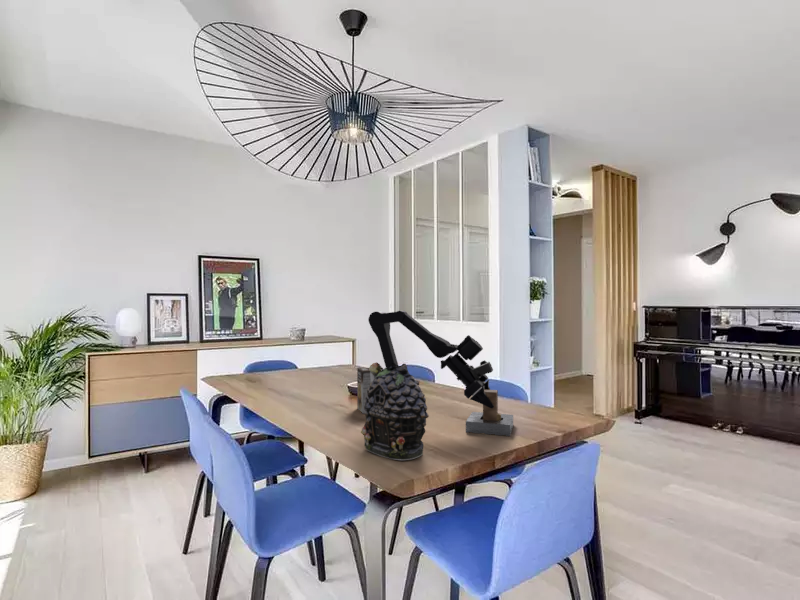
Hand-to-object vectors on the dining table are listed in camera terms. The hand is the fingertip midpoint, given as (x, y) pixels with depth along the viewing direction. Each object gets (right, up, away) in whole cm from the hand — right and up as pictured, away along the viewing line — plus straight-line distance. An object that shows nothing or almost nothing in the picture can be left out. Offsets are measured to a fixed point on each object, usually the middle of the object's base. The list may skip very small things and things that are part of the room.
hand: (494, 404), depth 149 cm
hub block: (-1, -8, 0) cm, 8 cm away
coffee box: (-44, -8, +25) cm, 52 cm away
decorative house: (-33, -8, -24) cm, 42 cm away
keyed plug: (-1, -8, 0) cm, 8 cm away
